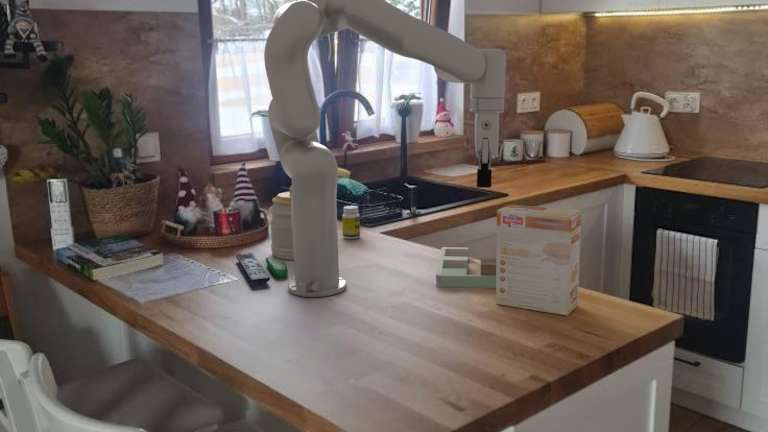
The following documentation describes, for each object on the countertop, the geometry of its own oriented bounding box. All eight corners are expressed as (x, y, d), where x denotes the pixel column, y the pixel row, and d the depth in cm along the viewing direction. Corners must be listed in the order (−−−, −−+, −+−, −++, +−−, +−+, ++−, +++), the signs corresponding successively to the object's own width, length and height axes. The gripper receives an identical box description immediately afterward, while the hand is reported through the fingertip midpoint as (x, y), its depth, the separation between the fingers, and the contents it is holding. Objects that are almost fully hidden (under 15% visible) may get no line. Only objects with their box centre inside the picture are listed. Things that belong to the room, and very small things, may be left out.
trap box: (518, 288, 162) (518, 277, 161) (436, 286, 164) (436, 275, 163) (514, 258, 184) (514, 248, 183) (441, 256, 186) (441, 247, 186)
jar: (263, 259, 187) (259, 189, 183) (282, 245, 199) (279, 179, 195) (313, 262, 184) (310, 190, 180) (329, 248, 196) (327, 181, 192)
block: (503, 287, 163) (504, 264, 162) (480, 286, 164) (480, 264, 163) (503, 279, 168) (503, 258, 167) (480, 279, 169) (480, 257, 167)
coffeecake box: (578, 305, 151) (582, 209, 146) (567, 316, 145) (571, 217, 140) (507, 294, 158) (509, 202, 154) (494, 304, 152) (495, 209, 148)
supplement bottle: (358, 239, 204) (357, 209, 202) (341, 239, 205) (339, 208, 203) (362, 235, 209) (361, 205, 207) (345, 234, 210) (344, 204, 208)
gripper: (504, 108, 161) (501, 193, 165) (503, 103, 175) (499, 181, 179) (469, 107, 162) (466, 192, 166) (470, 102, 176) (468, 180, 180)
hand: (483, 186), depth 172 cm, fingers closed
